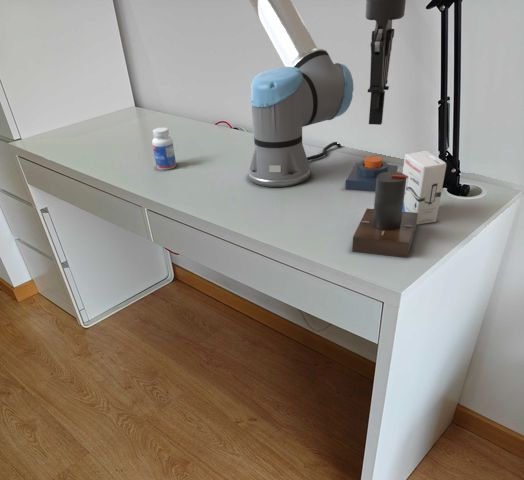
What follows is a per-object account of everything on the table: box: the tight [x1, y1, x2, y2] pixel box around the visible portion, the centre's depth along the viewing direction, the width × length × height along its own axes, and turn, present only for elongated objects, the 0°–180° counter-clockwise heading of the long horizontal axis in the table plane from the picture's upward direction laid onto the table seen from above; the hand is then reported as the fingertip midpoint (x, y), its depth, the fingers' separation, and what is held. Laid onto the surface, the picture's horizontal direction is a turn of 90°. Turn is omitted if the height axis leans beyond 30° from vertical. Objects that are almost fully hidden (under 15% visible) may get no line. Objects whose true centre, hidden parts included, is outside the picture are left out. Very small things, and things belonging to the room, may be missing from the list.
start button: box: [364, 155, 383, 168], centre depth 116 cm, size 4×4×2 cm
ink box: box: [402, 150, 447, 226], centre depth 99 cm, size 9×5×12 cm, turn 13°
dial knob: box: [373, 171, 407, 230], centre depth 91 cm, size 5×5×9 cm
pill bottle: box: [151, 127, 177, 171], centre depth 133 cm, size 6×5×10 cm
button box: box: [345, 160, 399, 193], centre depth 118 cm, size 12×10×4 cm
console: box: [351, 208, 418, 259], centre depth 95 cm, size 13×10×3 cm
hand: (375, 123), depth 111 cm, fingers closed
